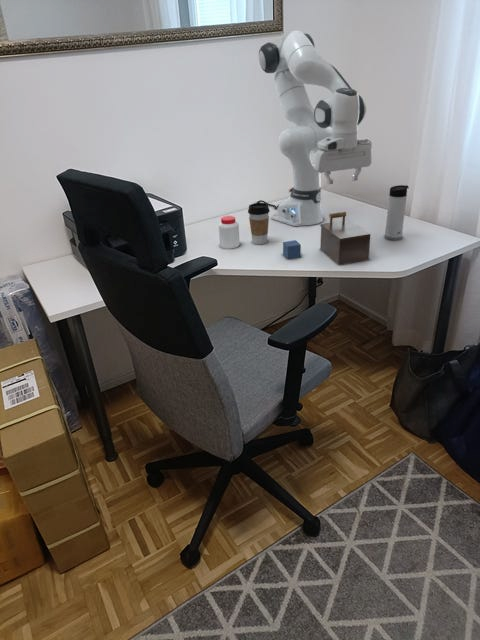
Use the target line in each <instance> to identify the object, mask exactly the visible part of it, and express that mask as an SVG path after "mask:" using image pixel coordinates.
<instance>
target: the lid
mask: <svg viewBox="0 0 480 640" xmlns="http://www.w3.org/2000/svg"><path fill="white" fill-rule="evenodd" d="M346 216H347V211H345V210H343V211H338V212H331V213H329V214H328V217H329V222H326V223H319V226H320V228H321V227H322V228H323V229H325V230H326V231H327V232H329V233H330V234H331V235H333V236H334V237H335V238H337V239H338V240H339V241H343V240H349V239H356V238H362V237H368V236H370V237H371V235H372V234H371V233H370V232H369V231H367V230H366V229H364V228H363V227H361V226H359V225H358V224H356V223H355V222H353V221H352V220H350V219H346ZM337 218H342V219H341V220H338V221H333V220H334V219H337Z"/></svg>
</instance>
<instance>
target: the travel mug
mask: <svg viewBox="0 0 480 640" xmlns="http://www.w3.org/2000/svg"><path fill="white" fill-rule="evenodd" d="M408 189H409V185H404V184H400V185H393V186H391V187H390V188H389V194H388V204H387V211H386V212H387V213H386V223H385V224H386V225H385V231H384V232H385V234H384V238H385V239H387V240H390V241H399V240H401V239H402V237H403V229H404V222H405V221H404V220H405V213H406V204H407V196H408V194H407V193H408Z"/></svg>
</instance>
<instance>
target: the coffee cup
mask: <svg viewBox="0 0 480 640" xmlns="http://www.w3.org/2000/svg"><path fill="white" fill-rule="evenodd" d="M270 212H271V210H270V207H269V205H268V204H266V203H263V202H259V203H257V202H255V203H251V204H249V205H248V209H247V213H248V216H249V217H248V220H249V225H250V226H249V228H250V234H251V240H252V243H253V244H254V245H265V244H267V243H268V237H269V236H268V234H269V223H270V221H269V220H270V216H269V213H270Z"/></svg>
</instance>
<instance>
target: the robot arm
mask: <svg viewBox="0 0 480 640" xmlns="http://www.w3.org/2000/svg"><path fill="white" fill-rule="evenodd" d="M258 62H259V65H260V68H261V69H262V71H263V72H264V73H266V74H274V73H275V74H274V84H275V89H276V90H275V91H276V94H277V98H278V101H279V103H280V107H281V109H282V113H283V115H284V117H285V119H286V120H287V121H288V122H290V123H293V124H295V125H296V126H292V127H290V128H288V129H285V130H283V131H281V133H280V134H279V137H278V141H277V142H278V149H279V151H280V153H281V154H282V155H283V156H285V157H286V158H287V159H288V161H289V163H290V164H291V166H292V171H293V187H291V188H289V190H288V193H290V195H289V196H288V197H286V198H285V199H284V200H282V201H281V202H279V204H277V205H276V204H271V203H269V202H266V201H265V200H261V199H260V200H258V201H256V203H266V204H268V207H269V206H270V207H273V208H274V209H275V210H277V211H276V212H275V213H274V214H273V215H272V217H271V219H272V220H274V221H275V222H276V221H277V222H280V223H283V224H287V225H288V226H289V225H290V226H293V227H301V226H313V225H317V224H321V223H322V222H323V221H324V218H323V213H322V205H321V200H322V186H321V177H322V176H321V175H322V173H323V174H324V176H325V178H326V184H327V185H334V179H333V178H332V177H331V176H330V175H331V173H332V172H337V171H346V170H352V169H354V170H355V171H354V174H352V175H351V181H352V182H357V181H358V180H359V179H358V178H359V175H360V174H361V172H362V168H368V167H371V164H372V147H373V143H372V141H371V139H368V138H363V139H360V138H359V128H358V126H359V125H360V124H362V122H363V120H364V119H365V117H366V114H367V104H366V102H365V100H364V99H363V97H362V96H361V95H360V94H359V93H358V91H357V90H356V89H354V88H352V87H351V85H350V84H349V83H348V82H347V80H346V79H345V78H344V77H343V75H342V74H341V73H340V71H339V70H338V69H337V68H336V67H335V66H333V65H332V64H331V63H329V62H328V61H326V59H324V58H323V57H322V56H321V55H320V54H319V52H318V51H317V50H316V47H315V42H314V39H313V38H312V36H311V34H309V33H304V32H302V31H300V30H298V29H297V30H292V31H290V32H287V34H286V35H285V36H283V37H282V38H279V39H276V40H272V41H271V42H270V41H269V42H266V43H264V44H263V45H261V46H260V47H259V50H258ZM305 85H312V86H318V87H322V88H325V89H327V90H329V91H330V92H331V93H332V94H331V95H330V96H328V97H326V98H324V99H323V98H322V99H320V100H319V101H318V102H317V104H315V108H314V107H313V104H312V103H311V100H310V98H309V96H308V92H307V90H306V87H305ZM312 154H315V155H314V162H313V161H312ZM259 201H260V202H259Z"/></svg>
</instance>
